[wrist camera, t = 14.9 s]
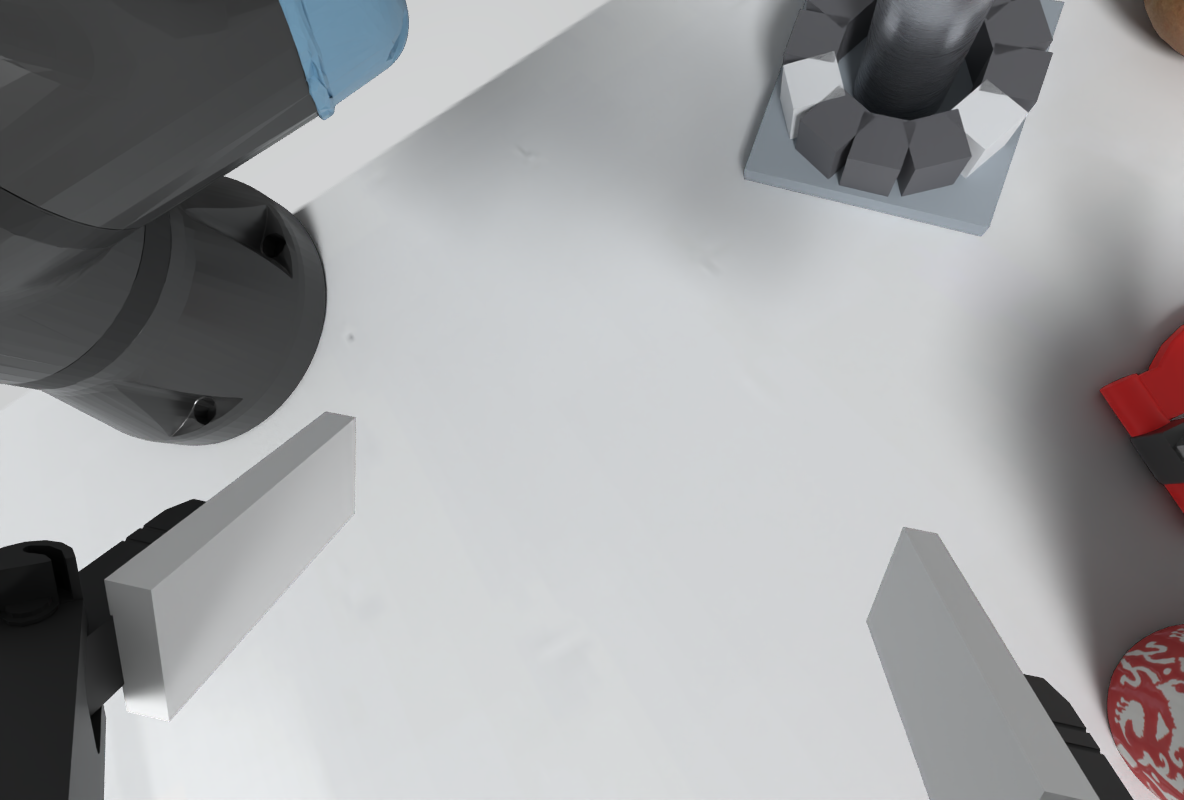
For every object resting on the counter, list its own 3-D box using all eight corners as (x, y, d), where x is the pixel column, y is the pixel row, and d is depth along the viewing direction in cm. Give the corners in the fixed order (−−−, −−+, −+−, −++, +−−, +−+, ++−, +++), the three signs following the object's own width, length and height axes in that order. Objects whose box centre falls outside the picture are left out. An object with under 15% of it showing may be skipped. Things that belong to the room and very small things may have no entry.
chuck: (744, 179, 33) (744, 141, 29) (816, -21, 34) (824, -79, 30) (981, 236, 30) (1011, 202, 27) (1054, 17, 31) (1092, -43, 27)
